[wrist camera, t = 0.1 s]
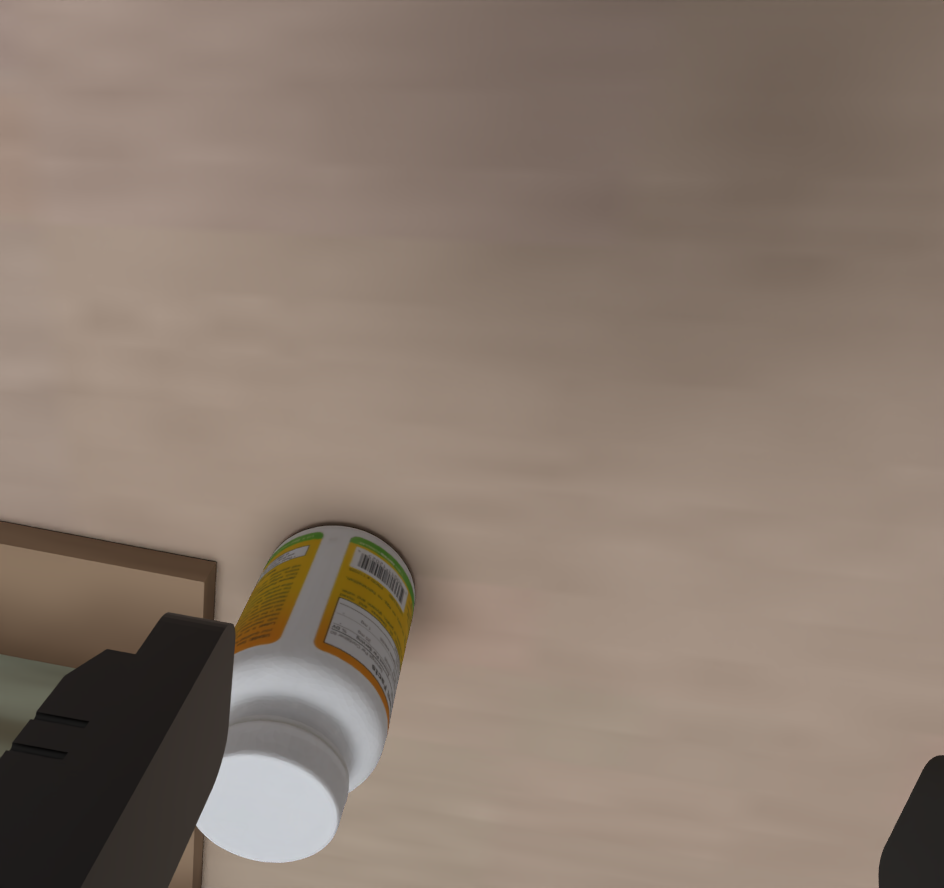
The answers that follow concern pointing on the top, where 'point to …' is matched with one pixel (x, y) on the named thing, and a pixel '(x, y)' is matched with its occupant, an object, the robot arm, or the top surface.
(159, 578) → the pedestal
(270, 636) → the supplement bottle
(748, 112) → the top surface
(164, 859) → the robot arm
